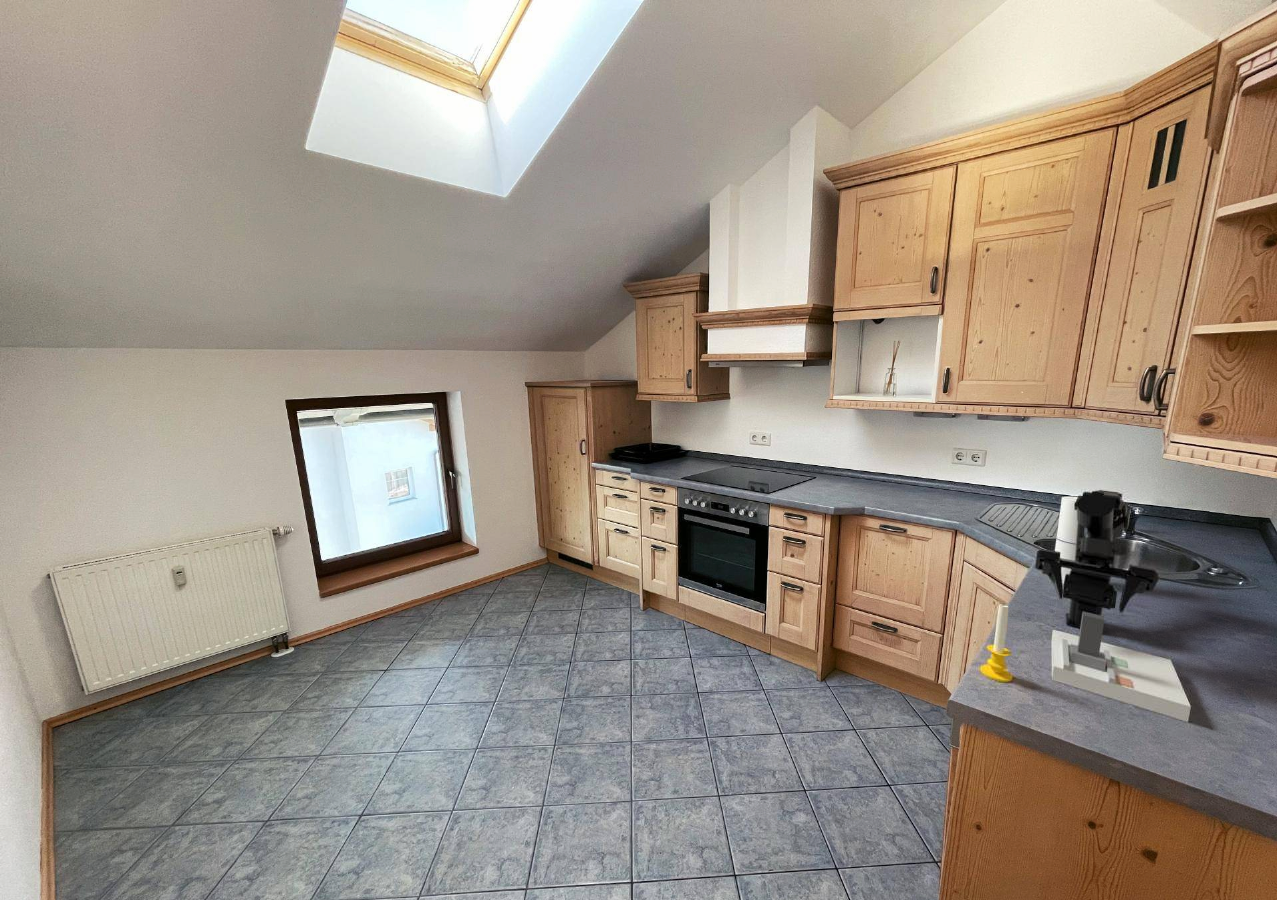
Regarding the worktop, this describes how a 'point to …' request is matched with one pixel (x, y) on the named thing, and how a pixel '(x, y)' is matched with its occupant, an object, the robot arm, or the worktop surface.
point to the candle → (998, 650)
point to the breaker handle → (1089, 643)
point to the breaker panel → (1123, 677)
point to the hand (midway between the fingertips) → (1090, 604)
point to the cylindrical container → (1067, 532)
